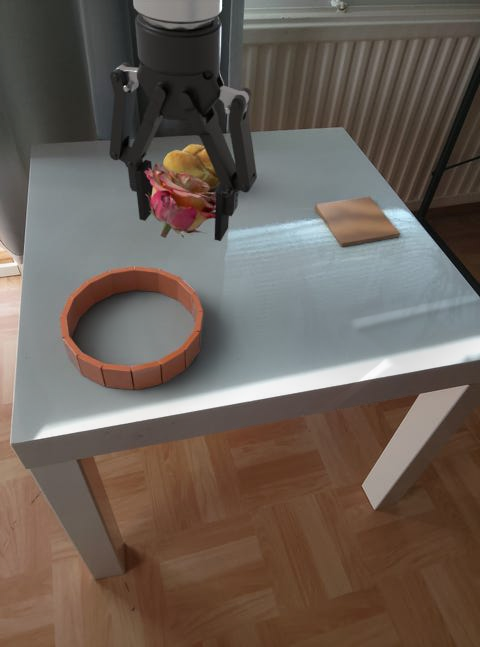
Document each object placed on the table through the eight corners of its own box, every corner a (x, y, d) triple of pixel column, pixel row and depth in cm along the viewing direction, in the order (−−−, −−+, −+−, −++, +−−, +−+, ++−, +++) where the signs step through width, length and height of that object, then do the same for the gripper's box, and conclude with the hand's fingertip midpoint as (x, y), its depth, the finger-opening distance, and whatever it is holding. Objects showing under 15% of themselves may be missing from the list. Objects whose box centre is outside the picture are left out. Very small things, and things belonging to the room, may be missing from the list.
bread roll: (166, 207, 87) (164, 166, 81) (147, 178, 93) (144, 137, 87) (233, 192, 92) (235, 151, 86) (211, 164, 97) (212, 125, 91)
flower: (178, 259, 54) (213, 192, 52) (111, 215, 55) (141, 148, 53) (209, 253, 63) (240, 196, 61) (150, 215, 64) (178, 158, 62)
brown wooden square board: (398, 237, 86) (400, 233, 85) (341, 247, 83) (342, 243, 83) (368, 199, 93) (369, 196, 92) (314, 208, 90) (315, 204, 89)
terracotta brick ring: (228, 343, 68) (230, 324, 65) (112, 414, 60) (107, 396, 57) (153, 270, 77) (152, 250, 74) (42, 323, 68) (35, 303, 65)
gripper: (309, 22, 44) (278, 228, 61) (88, -19, 48) (117, 186, 65) (287, 53, 39) (260, 266, 56) (43, 4, 43) (87, 219, 60)
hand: (183, 223), depth 61 cm, fingers closed on flower, 9 cm apart
